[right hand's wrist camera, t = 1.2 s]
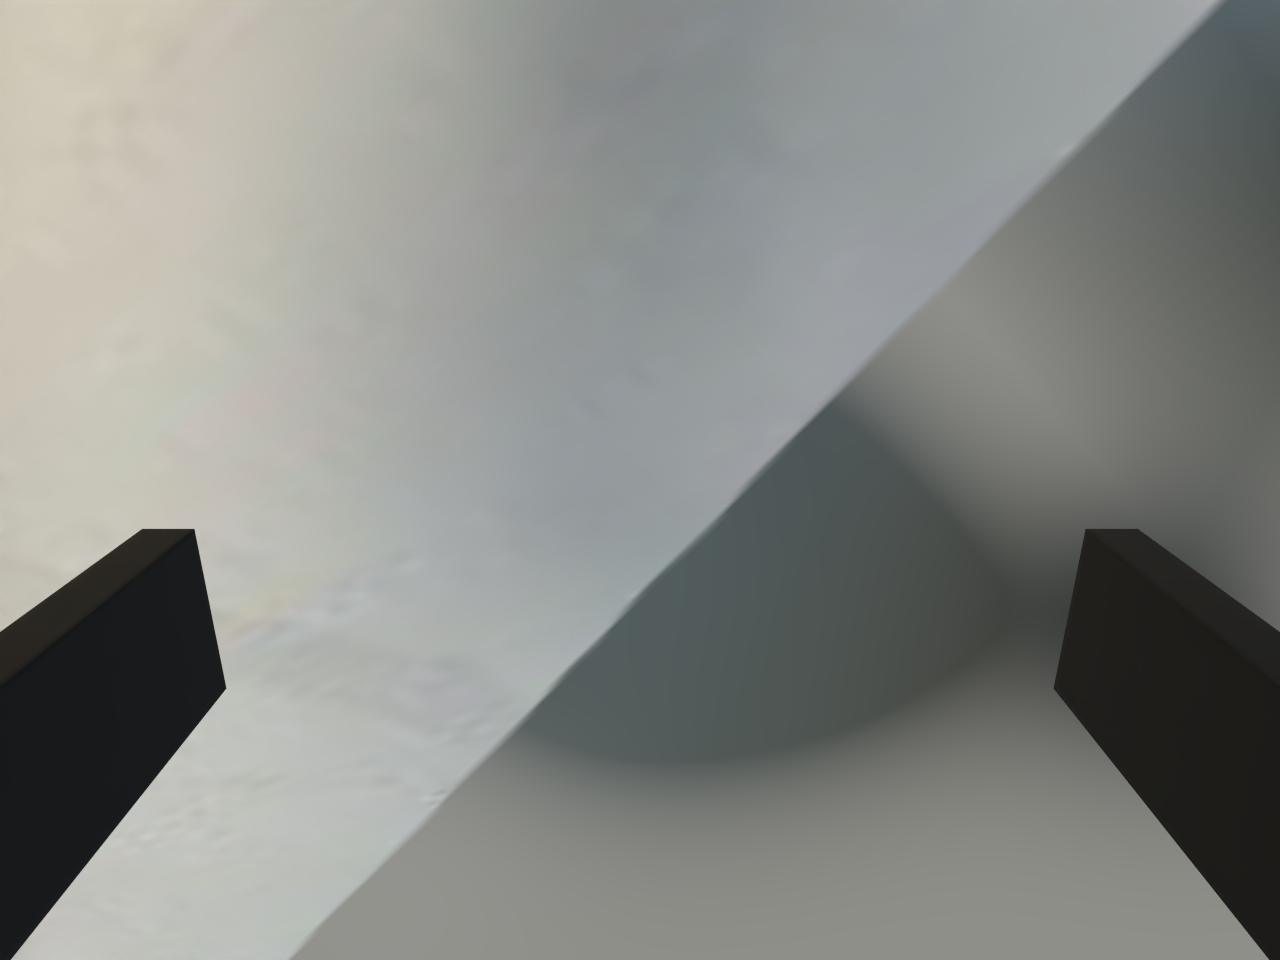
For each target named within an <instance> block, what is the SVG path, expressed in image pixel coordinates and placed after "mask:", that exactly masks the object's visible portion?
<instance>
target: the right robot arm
mask: <svg viewBox="0 0 1280 960" xmlns="http://www.w3.org/2000/svg"><path fill="white" fill-rule="evenodd" d="M225 689H226V684H225V680H224V675H223V670H222V665H221V660H220V655H219V650H218V645H217V640H216V635H215V630H214V625H213V620H212V615H211V610H210V605H209V600H208V595H207V590H206V585H205V580H204V575H203V570H202V565H201V560H200V555H199V550H198V545H197V540H196V535H195V530H194V529H142V530H140V531H139V532H137V533H136V534H135V535H133V536H132V537H131V538H129V539H128V540H126V541H125V542H124V543H122V544H121V545H120V546H118V547H117V548H115V549H114V550H113V551H111V552H110V553H109V554H107V555H106V556H104V557H103V558H102V559H100V560H99V561H97V562H96V563H95V564H93V565H92V566H91V567H89V568H88V569H86V570H85V571H84V572H82V573H81V574H80V575H78V576H77V577H75V578H74V579H73V580H71V581H70V582H69V583H67V584H66V585H64V586H63V587H62V588H60V589H59V590H58V591H56V592H55V593H53V594H52V595H51V596H49V597H48V598H46V599H45V600H44V601H42V602H41V603H40V604H38V605H37V606H35V607H34V608H33V609H31V610H30V611H29V612H27V613H26V614H24V615H23V616H22V617H20V618H19V619H18V620H16V621H15V622H13V623H12V624H11V625H9V626H8V627H6V628H5V629H4V630H2V631H1V632H0V960H11V959H12V957H13V956H14V955H15V954H16V952H17V951H18V950H19V949H20V947H21V946H22V945H23V944H24V942H25V941H26V940H27V939H28V937H29V936H30V935H31V934H32V932H33V931H34V930H35V928H36V927H37V926H38V925H39V923H40V922H41V921H42V920H43V918H44V917H45V916H46V915H47V913H48V912H49V911H50V910H51V908H52V907H53V906H54V905H55V903H56V902H57V901H58V900H59V898H60V897H61V896H62V895H63V893H64V892H65V891H66V889H67V888H68V887H69V886H70V884H71V883H72V882H73V881H74V879H75V878H76V877H77V876H78V874H79V873H80V872H81V871H82V869H83V868H84V867H85V866H86V864H87V863H88V862H89V861H90V859H91V858H92V857H93V856H94V854H95V853H96V852H97V850H98V849H99V848H100V847H101V845H102V844H103V843H104V842H105V840H106V839H107V838H108V837H109V835H110V834H111V833H112V832H113V830H114V829H115V828H116V827H117V825H118V824H119V823H120V822H121V820H122V819H123V818H124V817H125V815H126V814H127V813H128V811H129V810H130V809H131V808H132V806H133V805H134V804H135V803H136V801H137V800H138V799H139V798H140V796H141V795H142V794H143V793H144V791H145V790H146V789H147V788H148V786H149V785H150V784H151V783H152V781H153V780H154V779H155V778H156V776H157V775H158V774H159V772H160V771H161V770H162V769H163V767H164V766H165V765H166V764H167V762H168V761H169V760H170V759H171V757H172V756H173V755H174V754H175V752H176V751H177V750H178V749H179V747H180V746H181V745H182V744H183V742H184V741H185V740H186V739H187V737H188V736H189V735H190V734H191V732H192V731H193V730H194V728H195V727H196V726H197V725H198V723H199V722H200V721H201V720H202V718H203V717H204V716H205V715H206V713H207V712H208V711H209V710H210V708H211V707H212V706H213V705H214V703H215V702H216V701H217V700H218V698H219V697H220V696H221V695H222V693H223V692H224V691H225ZM1054 689H1055V691H1056V692H1057V693H1058V695H1059V696H1060V697H1061V698H1062V700H1063V701H1064V702H1065V703H1066V705H1067V706H1068V707H1069V708H1070V710H1071V711H1072V712H1073V713H1074V715H1075V716H1076V717H1077V718H1078V720H1079V721H1080V722H1081V723H1082V725H1083V726H1084V727H1085V728H1086V730H1087V731H1088V732H1089V733H1090V735H1091V736H1092V737H1093V738H1094V740H1095V741H1096V742H1097V743H1098V745H1099V746H1100V747H1101V749H1102V750H1103V751H1104V752H1105V754H1106V755H1107V756H1108V757H1109V759H1110V760H1111V761H1112V762H1113V764H1114V765H1115V766H1116V767H1117V769H1118V770H1119V771H1120V772H1121V774H1122V775H1123V776H1124V778H1125V779H1126V780H1127V781H1128V783H1129V784H1130V785H1131V786H1132V787H1133V789H1134V790H1135V791H1136V793H1137V794H1138V795H1139V796H1140V798H1141V799H1142V800H1143V801H1144V803H1145V804H1146V805H1147V806H1148V808H1149V809H1150V810H1151V811H1152V813H1153V814H1154V815H1155V817H1156V818H1157V819H1158V820H1159V822H1160V823H1161V824H1162V825H1163V827H1164V828H1165V829H1166V830H1167V832H1168V833H1169V834H1170V835H1171V837H1172V838H1173V839H1174V840H1175V842H1176V843H1177V844H1178V845H1179V847H1180V848H1181V849H1182V850H1183V852H1184V853H1185V854H1186V856H1187V857H1188V858H1189V859H1190V860H1191V862H1192V863H1193V864H1194V866H1195V867H1196V868H1197V869H1198V871H1199V872H1200V873H1201V874H1202V876H1203V877H1204V878H1205V879H1206V881H1207V882H1208V883H1209V884H1210V886H1211V887H1212V888H1213V889H1214V891H1215V892H1216V893H1217V895H1218V896H1219V897H1220V898H1221V900H1222V901H1223V902H1224V903H1225V905H1226V906H1227V907H1228V908H1229V910H1230V911H1231V912H1232V913H1233V915H1234V916H1235V917H1236V918H1237V920H1238V921H1239V922H1240V923H1241V925H1242V926H1243V927H1244V928H1245V930H1246V931H1247V932H1248V933H1249V935H1250V936H1251V937H1252V939H1253V940H1254V941H1255V942H1256V944H1257V945H1258V946H1259V947H1260V949H1261V950H1262V951H1263V952H1264V954H1265V955H1266V956H1267V957H1268V959H1269V960H1280V632H1279V631H1278V630H1276V629H1275V628H1273V627H1272V626H1271V625H1269V624H1268V623H1267V622H1265V621H1264V620H1262V619H1261V618H1260V617H1258V616H1257V615H1256V614H1254V613H1253V612H1251V611H1250V610H1249V609H1247V608H1246V607H1245V606H1243V605H1242V604H1240V603H1239V602H1238V601H1236V600H1235V599H1233V598H1232V597H1231V596H1229V595H1228V594H1227V593H1225V592H1224V591H1222V590H1221V589H1220V588H1218V587H1217V586H1216V585H1214V584H1213V583H1211V582H1210V581H1209V580H1207V579H1206V578H1205V577H1203V576H1202V575H1200V574H1199V573H1198V572H1196V571H1195V570H1193V569H1192V568H1191V567H1189V566H1188V565H1187V564H1185V563H1184V562H1183V561H1181V560H1180V559H1178V558H1177V557H1176V556H1174V555H1173V554H1171V553H1170V552H1169V551H1167V550H1166V549H1165V548H1163V547H1162V546H1160V545H1159V544H1158V543H1156V542H1155V541H1153V540H1152V539H1151V538H1149V537H1148V536H1147V535H1145V534H1144V533H1143V532H1141V531H1140V530H1138V529H1086V530H1085V535H1084V540H1083V545H1082V550H1081V555H1080V560H1079V565H1078V570H1077V575H1076V580H1075V585H1074V590H1073V595H1072V600H1071V605H1070V610H1069V615H1068V620H1067V625H1066V630H1065V635H1064V640H1063V645H1062V650H1061V655H1060V660H1059V665H1058V670H1057V675H1056V679H1055V685H1054Z"/></svg>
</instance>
